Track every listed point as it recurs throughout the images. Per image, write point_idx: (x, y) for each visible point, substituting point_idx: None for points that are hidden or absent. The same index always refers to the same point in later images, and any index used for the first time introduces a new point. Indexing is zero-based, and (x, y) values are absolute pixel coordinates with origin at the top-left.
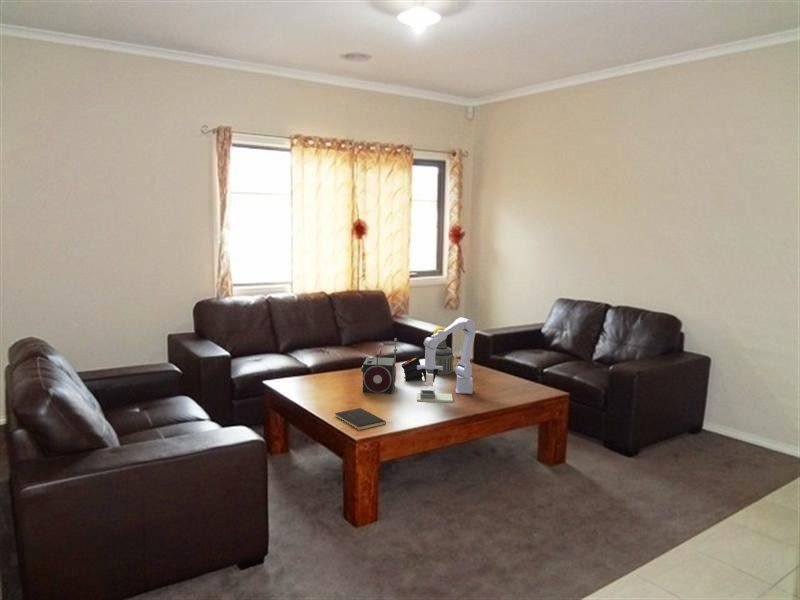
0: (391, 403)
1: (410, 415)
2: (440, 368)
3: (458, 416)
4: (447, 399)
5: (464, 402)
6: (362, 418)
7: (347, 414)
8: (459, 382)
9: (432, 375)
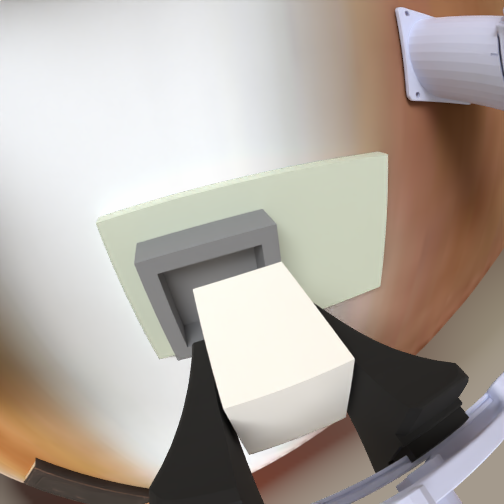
0: (58, 405)
1: None
2: (487, 418)
3: None
4: (355, 283)
5: (421, 258)
6: (100, 498)
7: (51, 489)
8: (481, 95)
9: (335, 417)
